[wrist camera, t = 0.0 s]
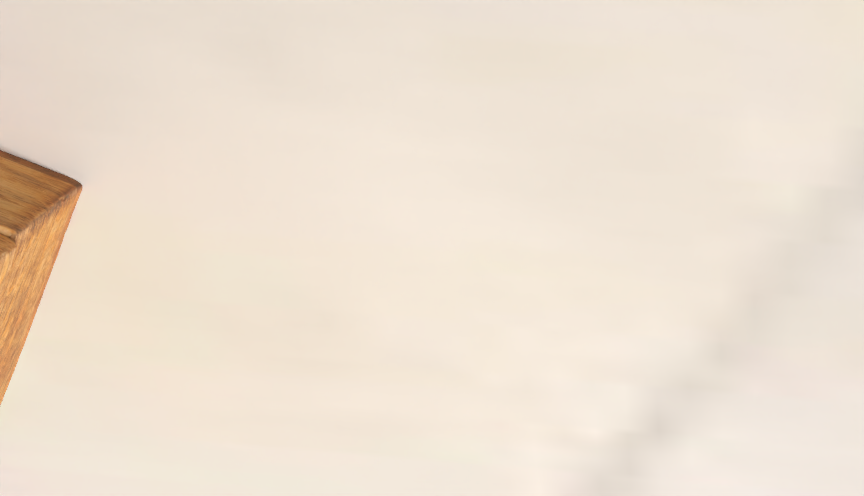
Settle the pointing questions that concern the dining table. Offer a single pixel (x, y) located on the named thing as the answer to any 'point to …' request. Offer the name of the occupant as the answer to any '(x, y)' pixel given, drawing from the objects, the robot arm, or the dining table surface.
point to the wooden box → (27, 247)
